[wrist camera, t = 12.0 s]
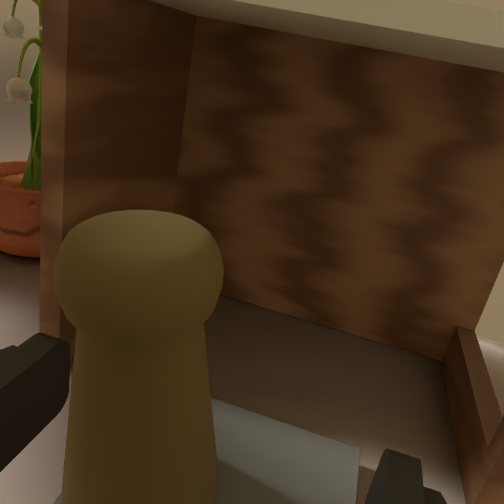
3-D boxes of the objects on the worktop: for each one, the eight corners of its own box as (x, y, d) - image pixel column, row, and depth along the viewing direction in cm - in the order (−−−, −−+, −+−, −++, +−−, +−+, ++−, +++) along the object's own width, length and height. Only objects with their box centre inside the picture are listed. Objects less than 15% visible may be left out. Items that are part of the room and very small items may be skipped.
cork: (25, 497, 18) (-14, 220, 13) (140, 408, 23) (139, 183, 18) (145, 595, 15) (145, 286, 11) (247, 469, 20) (275, 221, 16)
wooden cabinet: (26, 372, 25) (24, -68, 17) (157, 268, 39) (188, -2, 31) (499, 545, 21) (775, 54, 13) (457, 357, 35) (578, 67, 27)
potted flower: (64, 289, 34) (77, -146, 24) (-77, 262, 33) (-120, -185, 24) (118, 232, 45) (142, -81, 35) (12, 211, 44) (7, -108, 35)
